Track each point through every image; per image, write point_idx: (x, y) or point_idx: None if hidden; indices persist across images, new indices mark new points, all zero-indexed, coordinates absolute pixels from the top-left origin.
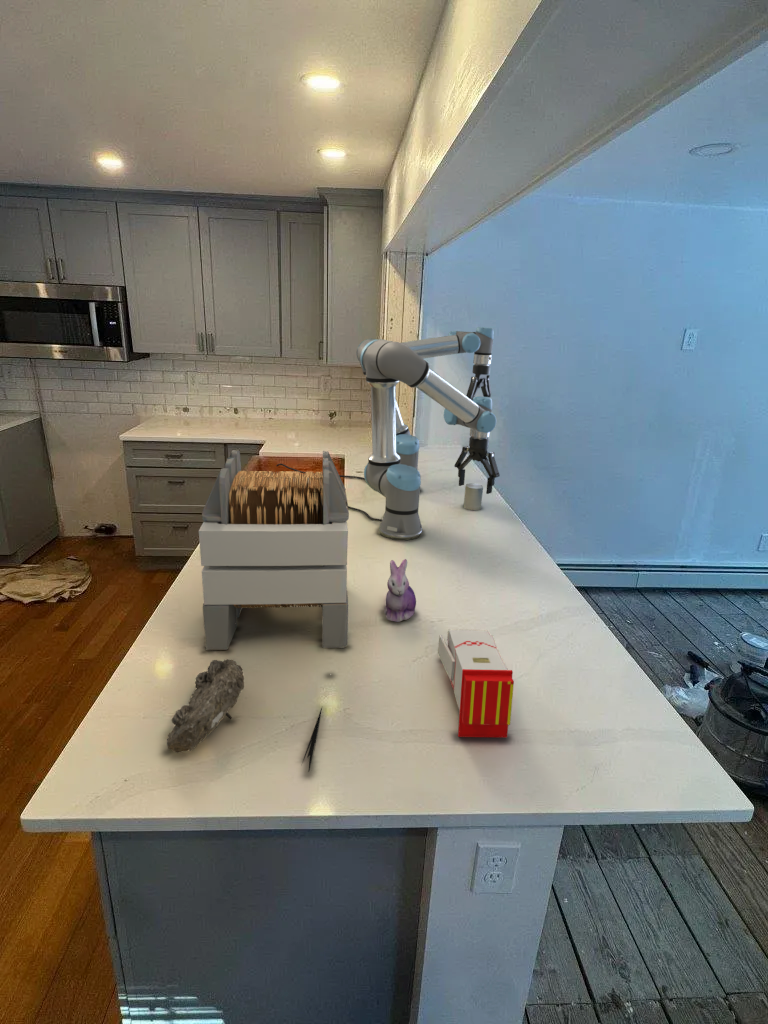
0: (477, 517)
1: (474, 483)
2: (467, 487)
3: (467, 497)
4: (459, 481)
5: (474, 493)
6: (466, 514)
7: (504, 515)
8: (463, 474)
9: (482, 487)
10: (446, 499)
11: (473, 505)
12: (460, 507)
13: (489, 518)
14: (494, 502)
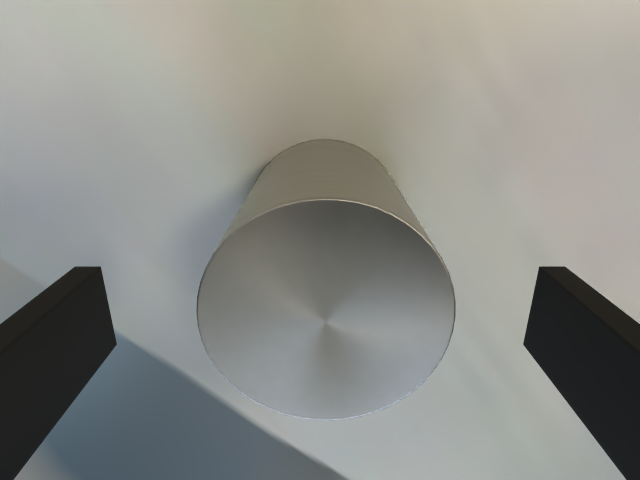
0: (113, 20)
1: (391, 402)
2: (361, 198)
3: (335, 162)
4: (593, 296)
5: (248, 204)
6: (232, 2)
7: (41, 257)
8: (632, 435)
9: (205, 348)
10: (603, 206)
11: (267, 168)
12: (392, 128)
13: (39, 94)
14: (285, 419)
